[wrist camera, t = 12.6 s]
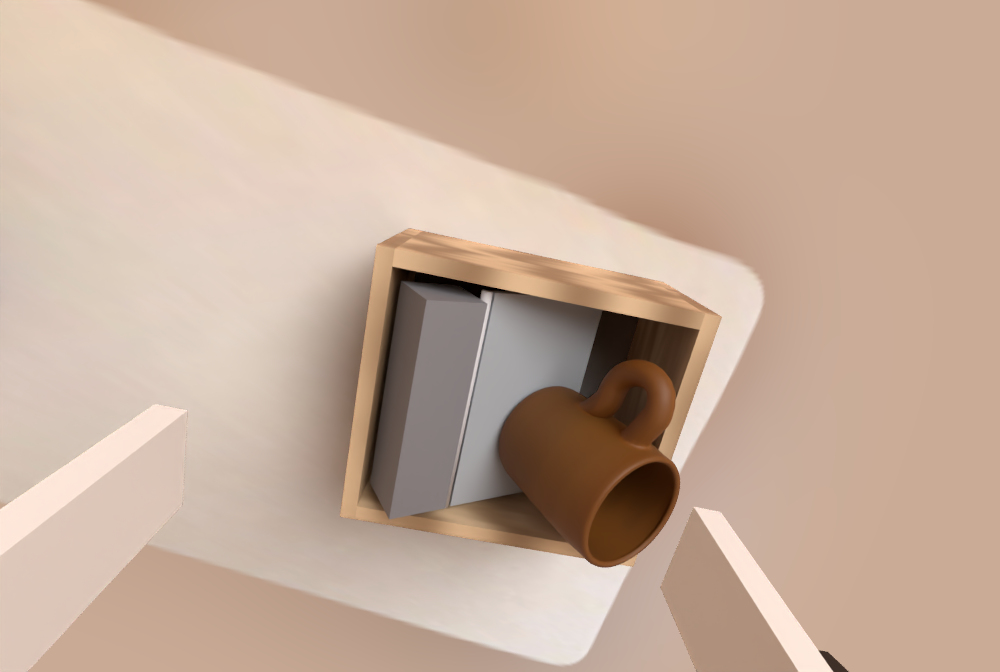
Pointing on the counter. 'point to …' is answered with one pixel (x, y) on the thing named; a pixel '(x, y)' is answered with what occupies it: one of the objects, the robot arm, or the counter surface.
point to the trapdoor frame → (661, 309)
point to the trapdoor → (467, 388)
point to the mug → (596, 462)
